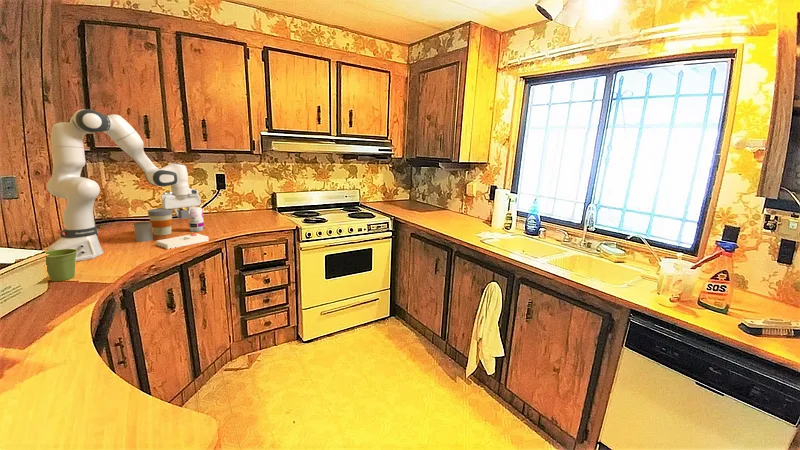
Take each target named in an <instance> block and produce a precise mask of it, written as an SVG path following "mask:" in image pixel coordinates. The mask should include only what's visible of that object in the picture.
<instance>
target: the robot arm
mask: <svg viewBox="0 0 800 450" xmlns="http://www.w3.org/2000/svg"><path fill="white" fill-rule="evenodd" d="M102 132H103V133H104V134H106V135H108V137H110V139H111V140H112V141H113V142H114V144H116V145H117V146H118V147H119V148H120V149H121V150H122V151H123V152H125V153H126V154H127V155H128V156H129V157H131V159H133V161H134V162H135V163H136V165H138V167H139V168H140V169H141V170H142V172H143V174H144V177H145V180H146V182H147V183H148V184H149V185H151V186H156V187H161V188H164V187H165V188H166V187H169V186H170V188H171V189H170V190H171V191H169V192H164V193H162V194H161V196H160V199H161V208H163V209H172V211H174V213H175V216H176V217H177V216H180V213H179V212H177V210H179V208H187V210H189V214H190V210H191V207H201V206H200V205H201V204H202V202H201V196H200V194H199V190H198V189H194V188H190V184H189V173H188V168H187V166H186V165H185V164H183V163H178V162H170V163H169V164H168V165H166V166H163V167H161V168H159V167H158V166H156V165H155V164H154V163H153V162H152V160H151V159H150V158H149V157H148V155H146V153H145V150H144V145H145V144H144V141H143V139H142V137H141V136H140V134H139V133H138V131H136V129H135V128H134V127H133V126H132V125H131V124H130V123H129V122H128V121H127V120H126V119H124V118H123V117H122V116H121V115H119V114H115V113H113V114H108V115H105V114H103V113H101V112H99V111H97V110H94V109H90V108H88V109H87V108H85V109H79V110H77V111H75V112H74V113H72V115H71V116H70V118H69V120H68V121H67V122H66V121H63V122H61V121H60V122H57V123H55V124H53V125H52V127H51V135H50V136H51V149H52V156H53V157H52V159H53V168H52V172H51V177H50V179H49V180H48V181H47V183H46V190H47V191H48V193H49V194H51V195H52V196H54V197H56V198H59V199H63V200H65V199H66V207H65V209H64V211H62V219H63V225H64V229H63V230H61V229H57V230H56V233H57V234H58V235H60V238H58V239H57V240H56V241H55V242H53V243H52V244H51V245H50V246H48V247H47V251H52V250H59V249H77V250H78V252H77V253H76V259H75V262H79V261H86V260H91V259H96V258H97V257H99V256H101V255H103V254H104V252H105V251H104V250H103V248H102V246H101V243H100V240H99V238H98V237H99V233H98V228H97V225H96V222H95V216H94V207H95V200H96V198H97V197H98V196H99V195H100V192H101V188H100V185H99V184H98V183H97V181H95V180H92V179H90V178H87V177H82V176H81V174H82V170H83V167H85V165H86V154H85V147H84V137H85V135H86V134H97V133H102Z"/></svg>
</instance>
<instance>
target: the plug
mask: <svg viewBox="0 0 800 450" xmlns="http://www.w3.org/2000/svg"><path fill="white" fill-rule="evenodd" d="M183 208H184V207H183ZM183 208H178V210H177V212H179V213H180V216H176V218H178V219H181V220H185V219H189V210H188V209H183Z"/></svg>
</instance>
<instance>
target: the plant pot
mask: <svg viewBox="0 0 800 450" xmlns="http://www.w3.org/2000/svg"><path fill="white" fill-rule="evenodd" d="M44 252H45V253H46V254H49V255H48V256H47V257H46V265H47V270H46V272H47V275H48V277H49V279H50V281H51V282H61V281H68V280H70V279H73V278H74V277H75V275H76V261H75V259H76V253H77V252H78V250H77V249H59V250H52V251H48V250H47V251H44Z"/></svg>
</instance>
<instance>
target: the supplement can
mask: <svg viewBox="0 0 800 450" xmlns="http://www.w3.org/2000/svg"><path fill="white" fill-rule="evenodd" d="M204 220H205V219H204V211H203V207H201V206H192V207H191V210H190V214H189V218H188V223H189V230H190V231H191V232H193V233H196V232H203V231H204V230H205V221H204Z"/></svg>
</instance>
